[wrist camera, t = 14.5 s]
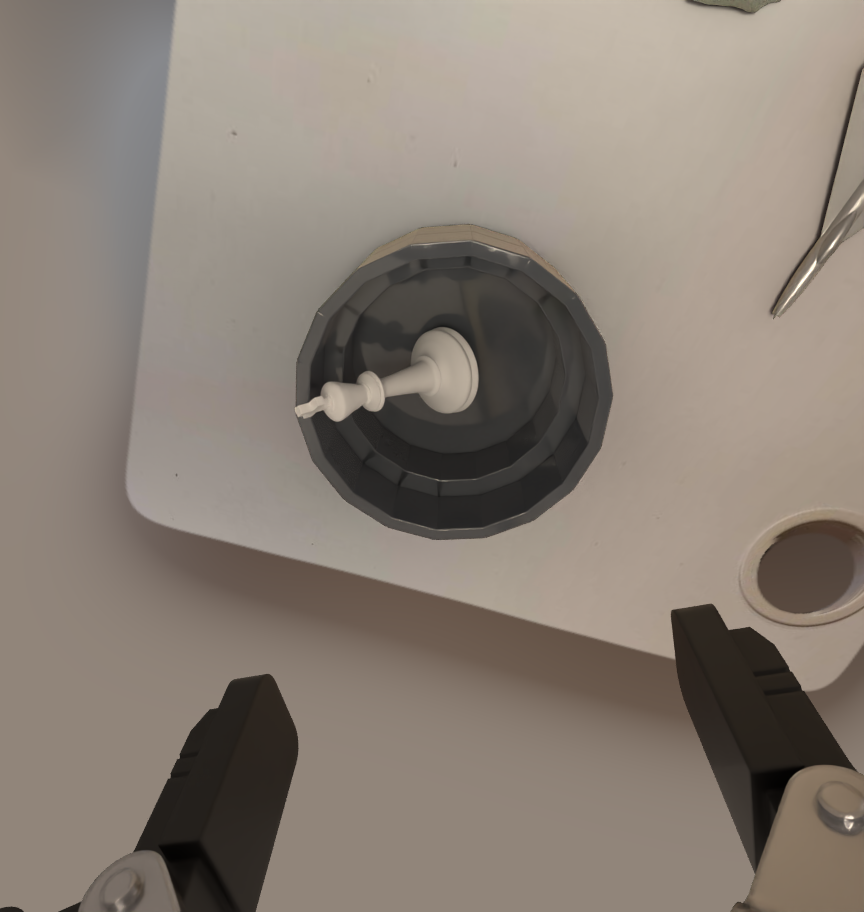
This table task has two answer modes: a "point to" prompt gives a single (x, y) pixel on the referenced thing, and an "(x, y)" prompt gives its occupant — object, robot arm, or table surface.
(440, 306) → the faceted round planter
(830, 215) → the toy airplane
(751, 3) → the rock
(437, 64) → the table surface
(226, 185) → the table surface
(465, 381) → the chess piece
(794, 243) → the table surface
